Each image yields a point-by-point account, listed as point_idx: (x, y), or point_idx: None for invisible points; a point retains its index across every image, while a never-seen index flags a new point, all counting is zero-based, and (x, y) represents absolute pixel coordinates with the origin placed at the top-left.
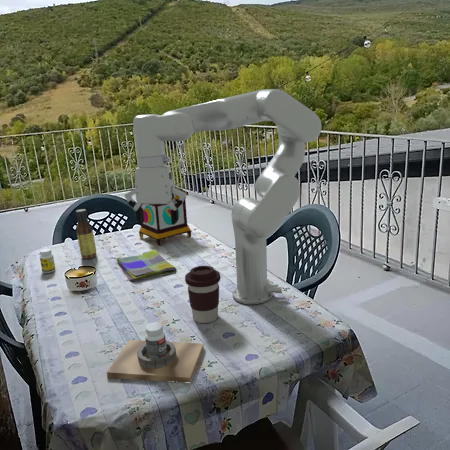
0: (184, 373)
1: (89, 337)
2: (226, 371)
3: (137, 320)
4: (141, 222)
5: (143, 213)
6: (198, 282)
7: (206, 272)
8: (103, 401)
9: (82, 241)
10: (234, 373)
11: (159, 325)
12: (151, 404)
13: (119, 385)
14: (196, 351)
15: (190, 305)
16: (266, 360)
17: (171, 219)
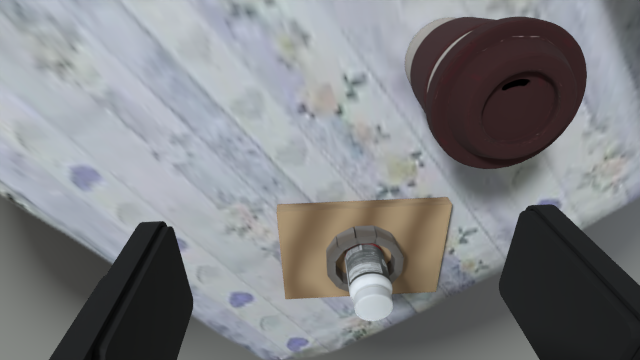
0: (424, 284)
1: (162, 189)
2: (493, 251)
3: (240, 97)
4: (187, 298)
5: (137, 297)
6: (491, 168)
7: (534, 110)
8: (307, 328)
9: None
10: (507, 253)
11: (385, 303)
12: (381, 323)
13: (315, 301)
14: (439, 229)
15: (413, 91)
16: (574, 214)
17: (524, 330)
